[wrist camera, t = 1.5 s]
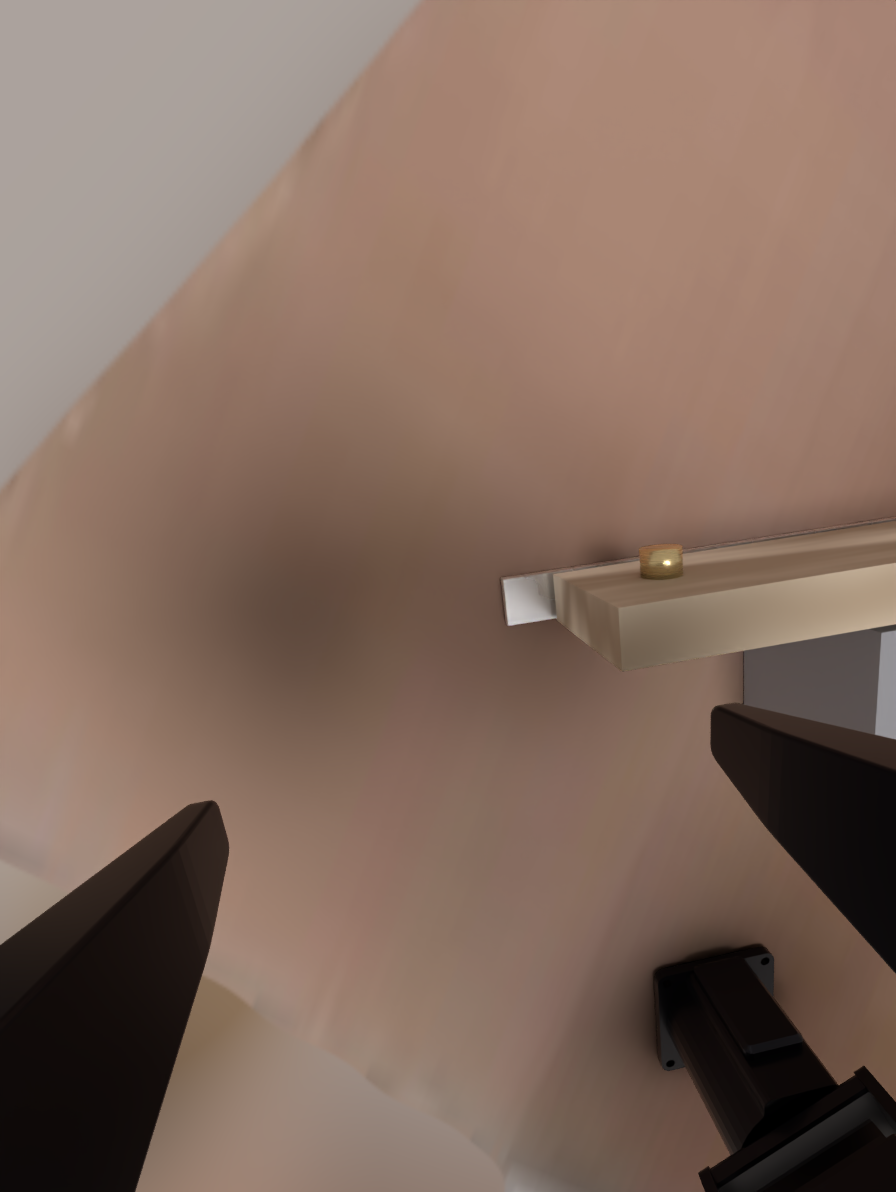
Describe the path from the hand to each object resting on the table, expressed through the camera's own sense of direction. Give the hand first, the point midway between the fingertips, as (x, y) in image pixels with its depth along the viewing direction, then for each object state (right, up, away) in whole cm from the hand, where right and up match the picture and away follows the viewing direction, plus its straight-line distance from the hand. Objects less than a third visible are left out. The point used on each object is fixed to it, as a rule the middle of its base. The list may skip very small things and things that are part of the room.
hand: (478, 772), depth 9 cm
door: (+13, +5, +12) cm, 18 cm away
